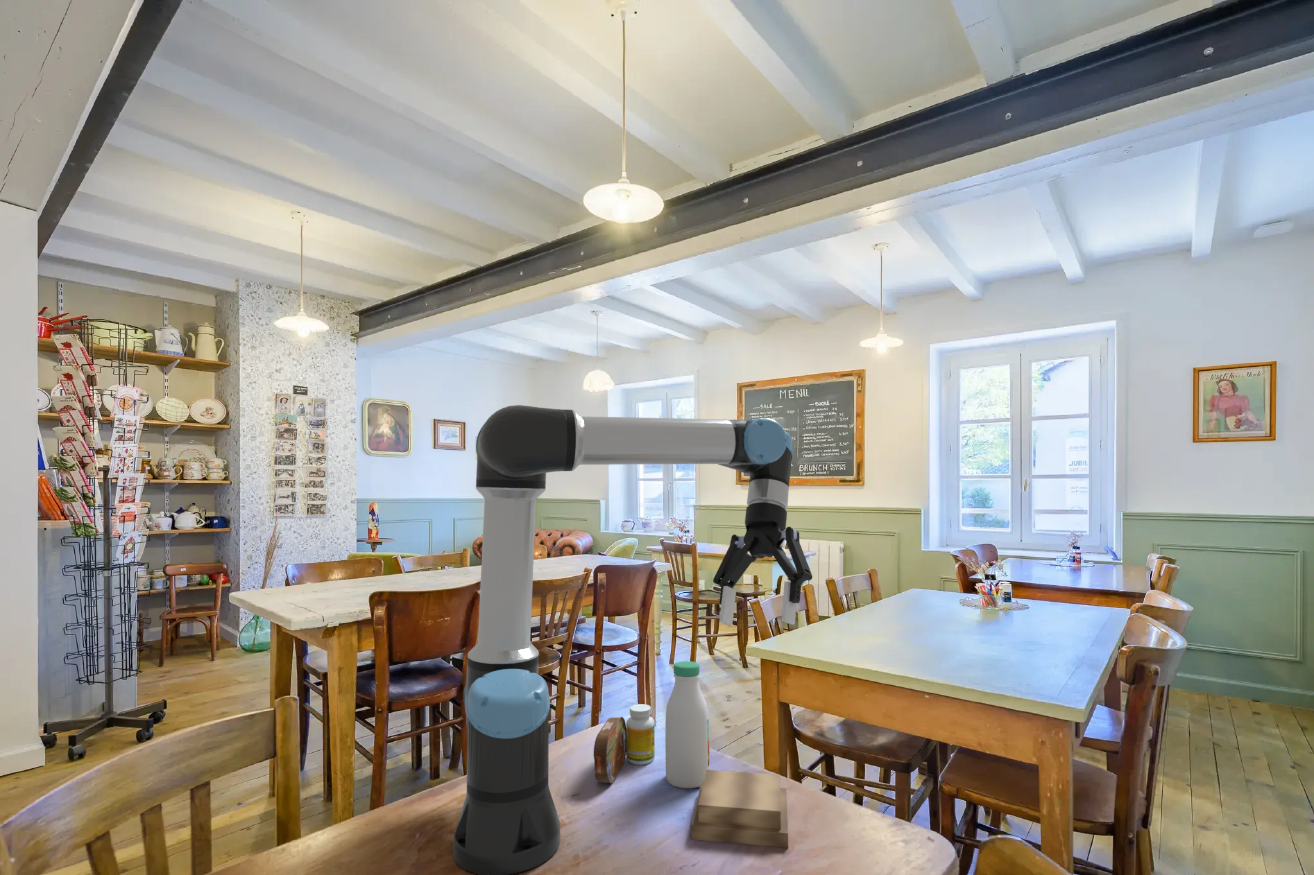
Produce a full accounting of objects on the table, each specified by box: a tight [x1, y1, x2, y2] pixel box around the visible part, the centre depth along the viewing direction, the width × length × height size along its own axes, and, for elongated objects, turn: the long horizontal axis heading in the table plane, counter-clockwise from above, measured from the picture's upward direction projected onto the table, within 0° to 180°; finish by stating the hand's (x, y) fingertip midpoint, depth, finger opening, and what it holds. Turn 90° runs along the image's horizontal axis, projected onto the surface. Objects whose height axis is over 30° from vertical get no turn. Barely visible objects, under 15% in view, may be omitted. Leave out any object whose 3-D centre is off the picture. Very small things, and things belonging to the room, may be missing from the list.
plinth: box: [690, 769, 789, 849], centre depth 102 cm, size 14×14×4 cm
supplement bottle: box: [625, 703, 656, 766], centre depth 124 cm, size 5×5×10 cm
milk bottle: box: [664, 660, 710, 789], centre depth 116 cm, size 8×8×20 cm
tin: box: [593, 716, 627, 784], centre depth 119 cm, size 15×3×8 cm, turn 169°
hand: (755, 623), depth 113 cm, fingers open, 13 cm apart
